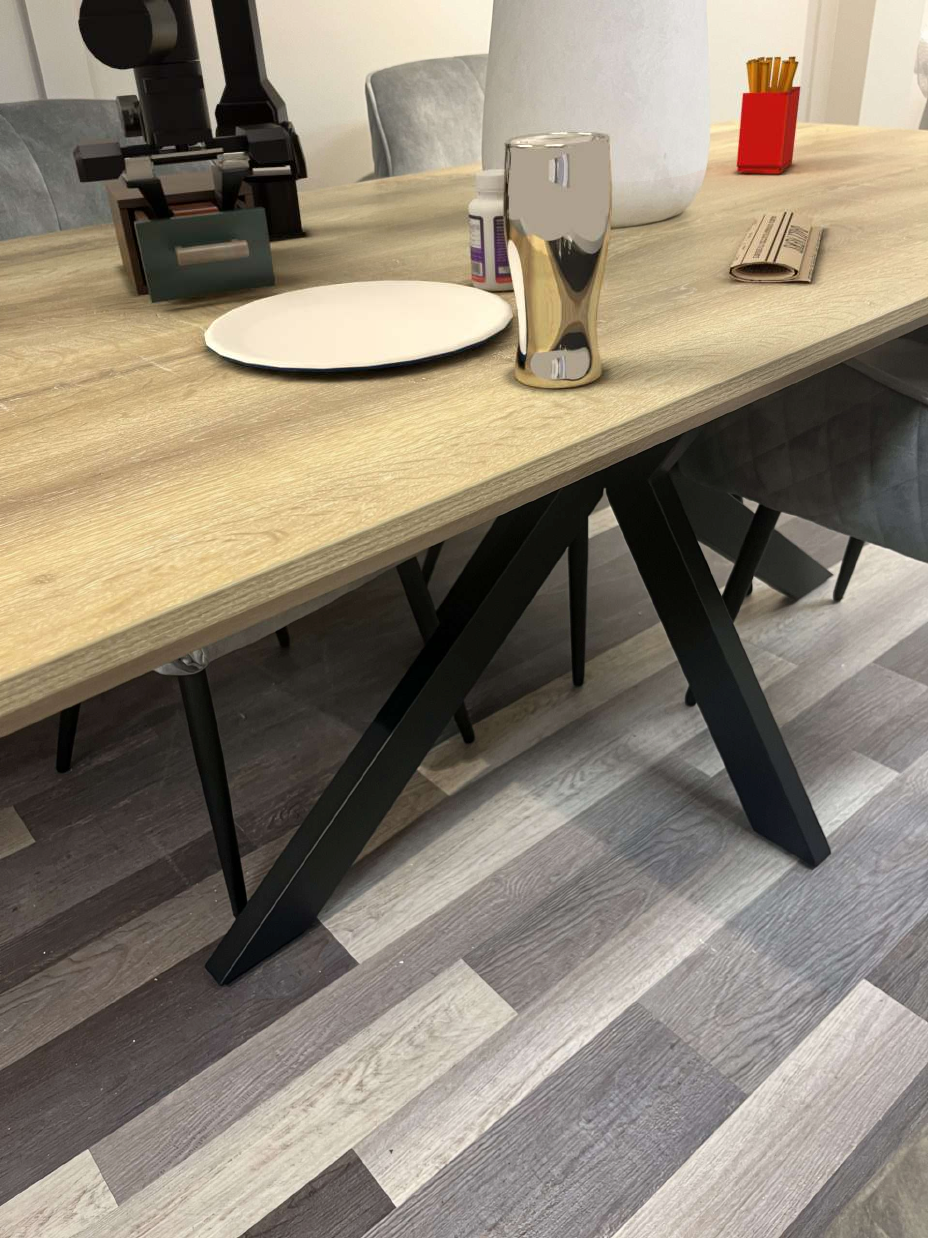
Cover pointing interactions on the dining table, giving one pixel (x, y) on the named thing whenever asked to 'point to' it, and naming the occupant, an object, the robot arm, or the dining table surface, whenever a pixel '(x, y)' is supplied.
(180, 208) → the block
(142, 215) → the drawer
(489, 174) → the pill bottle
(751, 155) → the french fries container
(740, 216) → the dining table surface
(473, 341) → the plate
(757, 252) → the newspaper
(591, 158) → the beer glass
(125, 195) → the cabinet
